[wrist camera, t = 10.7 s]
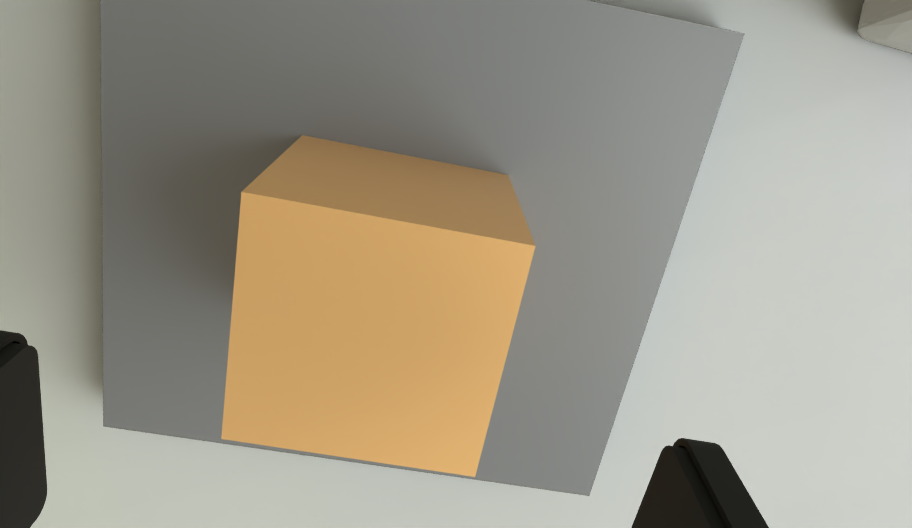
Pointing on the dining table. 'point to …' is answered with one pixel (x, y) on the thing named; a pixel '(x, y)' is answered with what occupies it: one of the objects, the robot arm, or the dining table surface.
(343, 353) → the tan cardboard cube
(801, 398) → the dining table surface
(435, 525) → the dining table surface
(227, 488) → the dining table surface
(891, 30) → the electrical switch
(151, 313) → the plate
